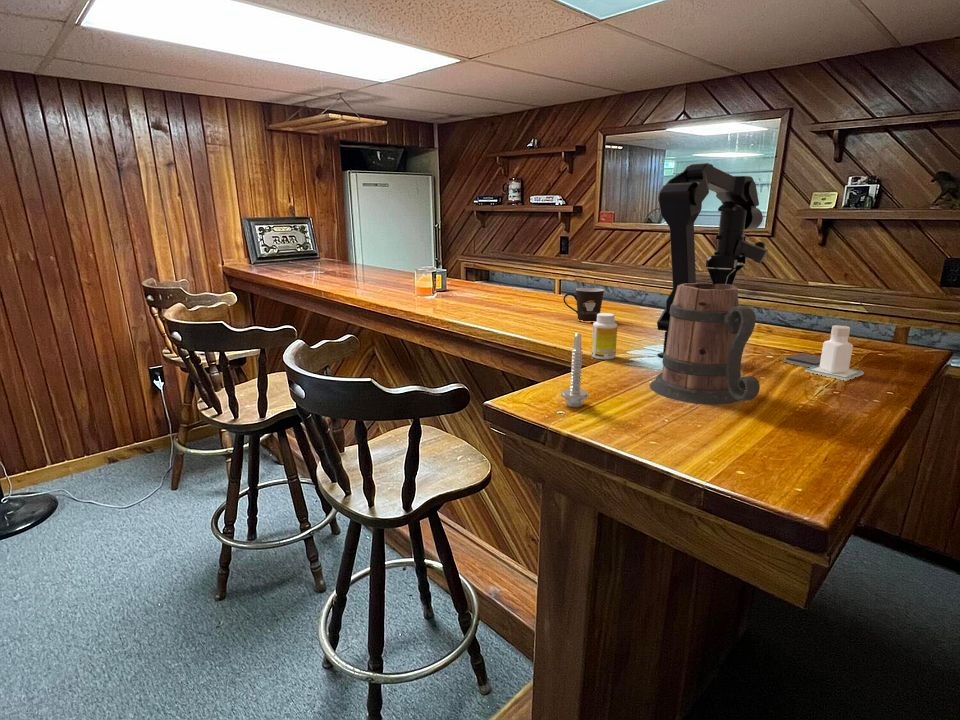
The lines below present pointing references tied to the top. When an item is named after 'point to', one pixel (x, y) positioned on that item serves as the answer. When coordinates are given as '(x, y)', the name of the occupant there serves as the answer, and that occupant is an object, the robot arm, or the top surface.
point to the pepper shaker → (837, 351)
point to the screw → (575, 377)
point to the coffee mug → (587, 303)
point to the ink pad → (804, 360)
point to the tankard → (706, 347)
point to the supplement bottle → (604, 336)
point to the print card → (841, 376)
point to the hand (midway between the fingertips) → (723, 294)
